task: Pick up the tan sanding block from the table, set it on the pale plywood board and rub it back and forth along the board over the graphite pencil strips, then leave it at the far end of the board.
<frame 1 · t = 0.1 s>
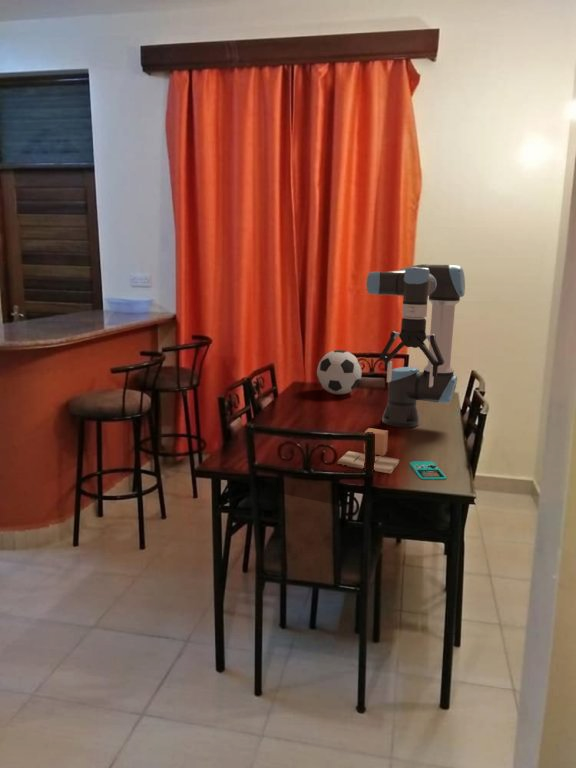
hand: (409, 384, 185), 28 cm above the table, tool pointing down, fingers open, 13 cm apart
board: (368, 463, 193), on the table
sanding block: (375, 452, 203), on the table
soccer ball: (338, 394, 287), on the table
handheld gaming console: (427, 472, 187), on the table
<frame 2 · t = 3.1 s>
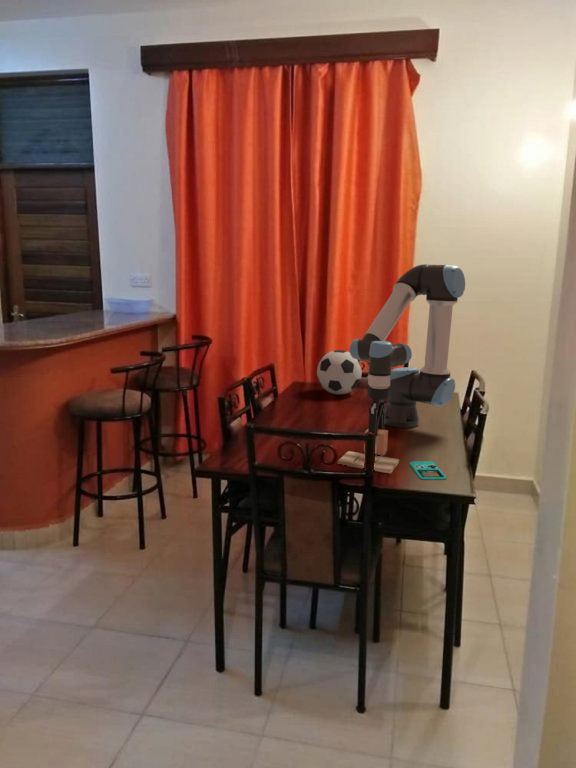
hand: (375, 450, 203), 1 cm above the table, tool pointing down, fingers closed on sanding block, 5 cm apart
sanding block: (375, 452, 203), on the table, touching gripper
everything else where it was.
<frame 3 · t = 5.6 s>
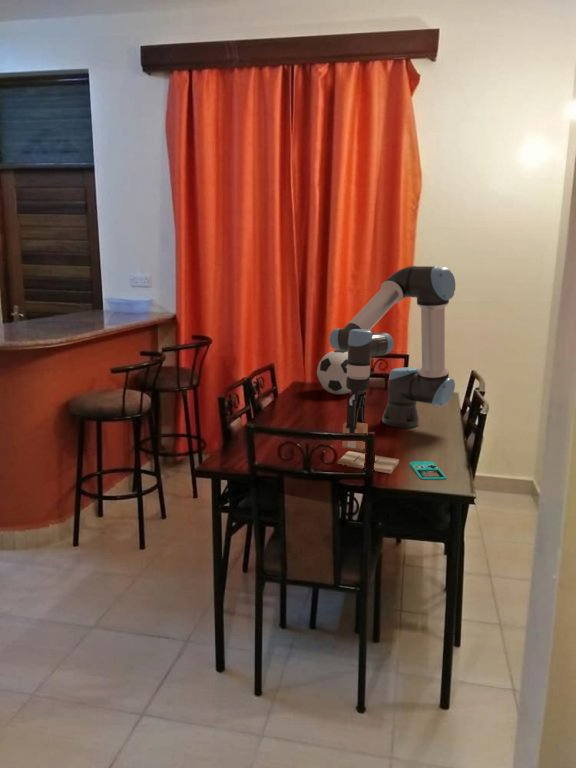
hand: (354, 444, 193), 6 cm above the table, tool pointing down, fingers closed on sanding block, 5 cm apart
sanding block: (354, 446, 193), point 5 cm above the table, touching gripper
everything else where it was.
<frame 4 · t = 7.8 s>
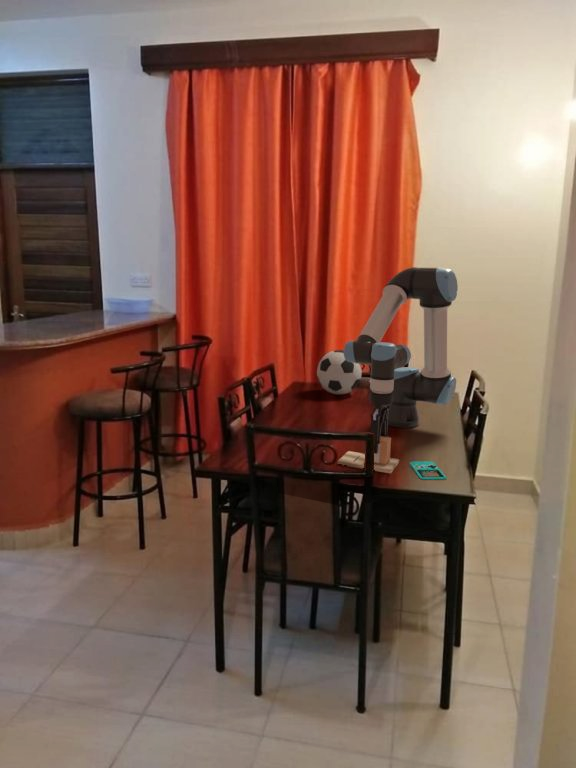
hand: (377, 459, 191), 2 cm above the table, tool pointing down, fingers closed on sanding block, 5 cm apart
sanding block: (377, 461, 191), point 1 cm above the table, touching gripper
everything else where it was.
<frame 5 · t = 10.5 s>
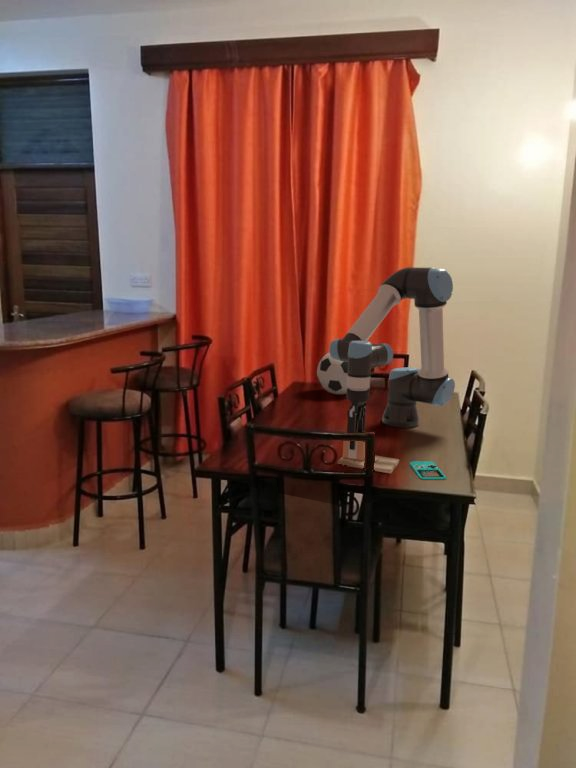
hand: (355, 455, 194), 2 cm above the table, tool pointing down, fingers closed on sanding block, 5 cm apart
sanding block: (355, 457, 194), point 1 cm above the table, touching gripper
everything else where it was.
when the fingers open (2 cm above the table, at t = 12.5 s): sanding block stays where it is, resting on board.
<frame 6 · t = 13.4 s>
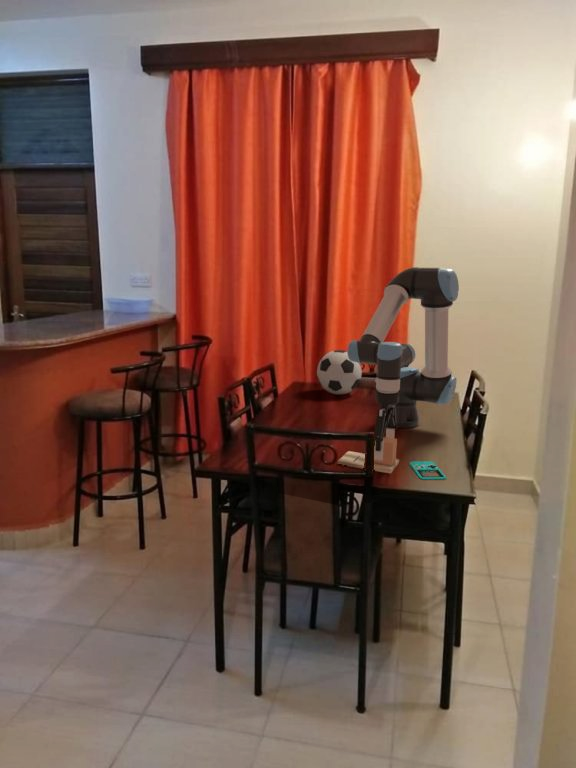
hand: (384, 453, 190), 4 cm above the table, tool pointing down, fingers open, 13 cm apart
sanding block: (383, 462, 190), point 1 cm above the table, touching board
everything else where it was.
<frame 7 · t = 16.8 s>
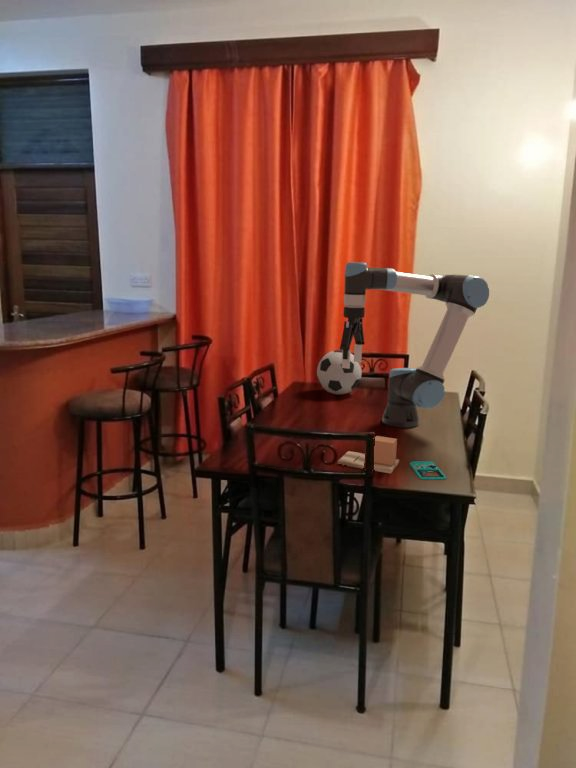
hand: (351, 365, 210), 29 cm above the table, tool pointing down, fingers open, 13 cm apart
nothing on the table moved.
at the end: sanding block inside the target area (0.3 cm from its centre), point 1.2 cm above the table; sanding block tilted 0°; the gripper is holding nothing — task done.
